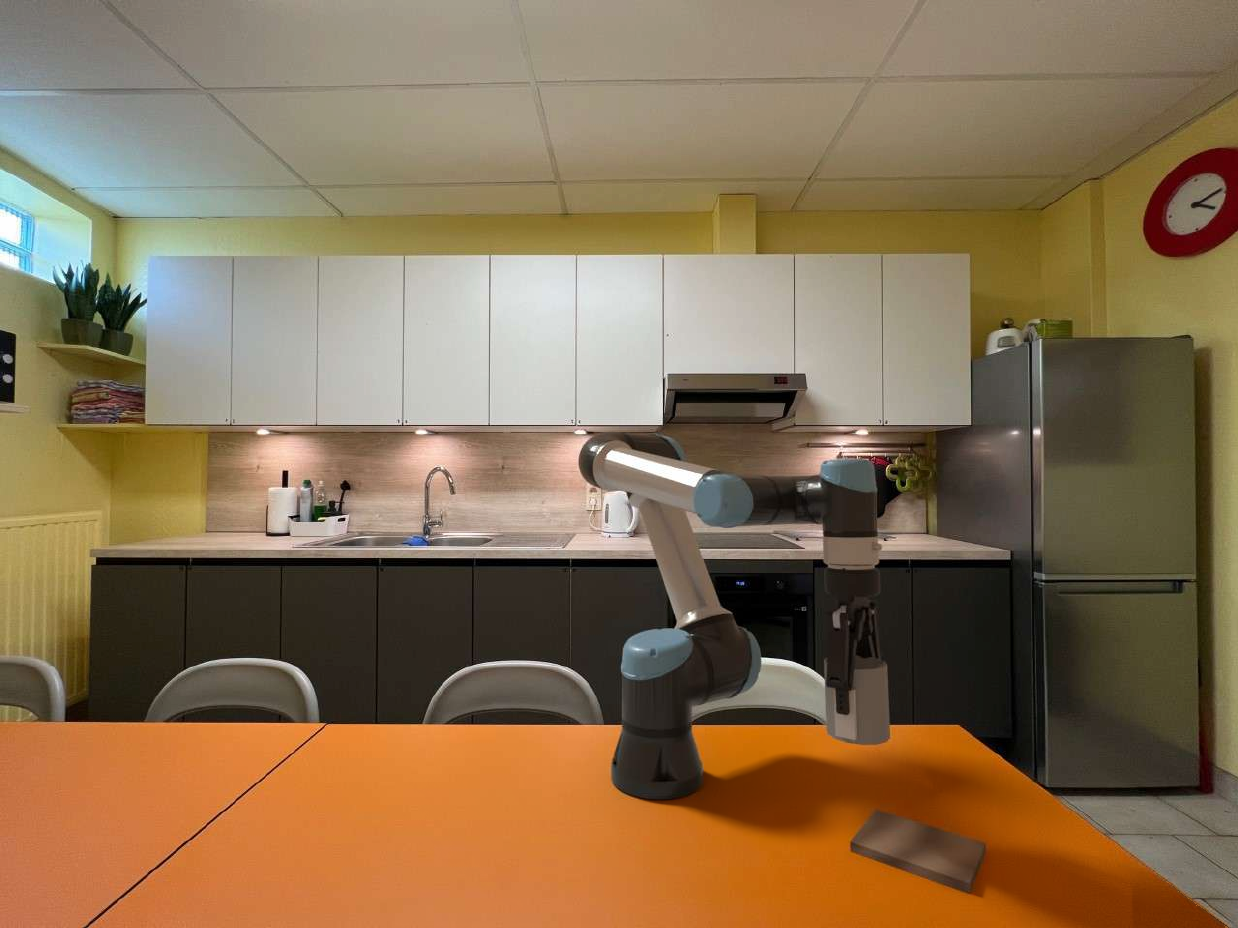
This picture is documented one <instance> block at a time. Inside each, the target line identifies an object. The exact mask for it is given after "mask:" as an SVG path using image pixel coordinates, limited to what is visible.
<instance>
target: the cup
mask: <svg viewBox="0 0 1238 928" xmlns="http://www.w3.org/2000/svg"><path fill="white" fill-rule="evenodd" d="M823 665H824V694H825V695H824V696H825V699H824V700H825V725H826V732H827V735H828V736H830V737H832V738H833V739H835V740H837V741H841V742H844V743H847V744H853V745H859V746H874V745H875V746H876V745H881V744H885V743H888V742H889V740H890V739H891V725H890V705H889V704H890V703H889V680H888V679H889V678H888V677H889V676H888V664H887V663H886V661H885V660H882V659H881V660H879V659H876V658H871V657H869V658H866V659H863V658H861V657H860V656H856V657H855V666H854V676H853V685H852V686H853V687H852V689H855V693H856V719H857V739H856V740H852V739H848V738H843V737H839V736H835V710H834V688H830V687H827V686H826V680H827V657H826V658H823ZM839 679H840V678H839Z"/></svg>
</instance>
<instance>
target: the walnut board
mask: <svg viewBox="0 0 1238 928" xmlns="http://www.w3.org/2000/svg"><path fill="white" fill-rule="evenodd" d="M849 847H850V848H849V849H850V850H849V851H850V852H853V853H854V854H857V855H860V856H863V857H866V858H868V859H872V860H875V861H877V862H880V863H883V864H886V865H887V866H888V865H889V866H891V867H894V868H897V869H900V870H903V871H905V872H907V873H911V874H913V875H915V876H916V875H917V876H919V877H922V878H924V879H927V880H930V881H933V882H936V883H939V884H941V885H944V886H947V887H950V888H952V889H955V890H959V891H960V892H964V893H966V894H971V891H972V889H973V886H974V884H975V882H976V878H977V876H978V874H979V870H980V868H981V866H982V864H983V861H984V857H985V855H986V852H987V851H986V850H987V849H986V848H987V847H986V842H984V841H980V840H977V839H974V838H970V837H968V836H964V835H961V834H958V833H955V832H952V831H948V830H944V829H941V828H938V827H935V826H932V825H928V824H926V823H922V822H919V821H915V820H913V819H909V818H906V817H903V816H900V815H896V814H893V813H890V812H886V811H884V810H880V809H874V810H873V811H872V813H871V815H869V817H868V818H867V819H866V821H865V822H864V823H863V824H862V825H861V827H860V828H859V830H858V831H857V832H856V833H855V835H854V836H853V837H852V839H851V840H850V845H849Z"/></svg>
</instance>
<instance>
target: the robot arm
mask: <svg viewBox="0 0 1238 928" xmlns="http://www.w3.org/2000/svg"><path fill="white" fill-rule="evenodd" d="M581 447H582V448H581V449H580V452H579V454H578V461H577V462H578V470H579V472H580V475H581V476H582V478H583V479H584V480H585V481H586V483H588V484H590V486H592V487H595V488H598V489H601V490H604V491H607V492H618V491H624V492H625V493H626V494H625V495H626V497H627V500H628V503H629V505H630V506H631V507H634V508H636V509H639V512H640V515H641V519H642V520H643V524H644V526H645V530H646V533H647V536H648V539H649V541H650V544H651V548H652V551H653V553H654V557H655V559H656V563H657V566H658V569H659V572H660V575H661V577H662V580H663V583H664V586H665V590H666V592H667V595H668V598H669V601H670V604H671V608H672V610H673V614H674V615H675V620H676V625H675V626H674V628H669V627H668V628H667V627H666V628H662V629H659V628H654V629H649V630H643V631H640V632H639V633H636V634H634V635H632V636H631V637H629V638H628V639H627V640H626V642H625V643H624V646H623V648H622V659H621V664H620V671H621V731H620V735H619V738H618V741H617V745H616V748H615V751H614V754H613V757H612V759H611V762H610V763H611V765H610V779H611V782H612V784H613V785H614V786H615V787H616V788H617V789H619V790H620V792H621V791H622V792H623V793H626V794H628V795H630V796H634V797H637V798H640V799H641V798H642V799H646V800H647V799H648V800H672V799H673V800H674V799H678V798H682V797H686V796H690V795H691V794H693V793H695V792H696V791H697V790H699V789H700V788H701V787H702V784H703V781H704V773H703V772H704V767H703V762H702V760H701V758H700V754H699V750H698V747H697V744H696V740H695V736H694V734H693V708H694V707H697V706H702V705H706V704H710V703H712V702H717V701H720V700H724V699H733V698H734V697H737V696H738V695H741V694H744V693H746V692H748V691H750V690H751V689H752V688H753V687H754V686H755V685H756V683H757V681H758V679H759V674H760V672H761V669H762V655H761V654H762V653H761V647H760V645H759V643H758V640H757V638H756V637H755V635H754V634H753V633H752V632H751V631H748V630H747V628H745V627H742V626H739V625H737V623H736V620H735V618H734V615H733V612H731V611H729V610H728V609H726V608H724V607H723V606H722V605H721V603H720V601H719V598H718V595H717V593H716V590H715V588H714V587H715V586H714V584H713V582H712V579H711V577H710V574H709V571H708V569H707V565H706V563H705V561H704V558H703V555H702V552H701V550H700V546H699V544H698V542H697V539H696V536H695V533H694V531H693V528H692V525H691V523H690V521H689V517H688V514H687V512H689V513H692V514H695V515H696V516H697V517H698V518H700V521H701V522H702V523H703V524H705V525H707V526H710V527H715V528H716V527H717V528H718V527H719V528H723V529H732V528H736V527H753V526H755V527H756V526H775V525H776V526H779V525H822V546H823V547H822V548H823V549H822V550H823V551H822V554H823V560H822V561H823V563H824V564H826V565H827V566H826V567H825V569H824V570H823V571H824V574H823V575H824V577H823V578H824V591H825V592H826V593H827V594H829V595H832V596H833V595H834V596H835V597H836V606H835V608H834V611H828V612H827V614H826V619H827V628H828V629H827V630H828V631H827V632H828V633H827V652H826V653H827V656H826V658H827V680H826V686H827V687H830V688H834V710H835V736H839V737H843V738H848V739H852V740H856V739H857V719H856V693H855V689H852V687H853V686H852V685H853V676H854V666H855V657H856V656H860V657H861V658H863V659H866V658H869V657H871V658H876V659H879V660H882V657H881V648H880V647H881V646H880V637H879V628H878V619H877V613H878V612H877V605H878V604H877V601H876V600H869V597H870V598H871V597H876V596H878V595H880V593H881V572H880V571H881V570H879V569H878V568H876V567H875V566H877V565H878V564H880V557H879V556H880V555H879V554H880V553H879V552H880V551H882V550H883V545H882V544H881V543H879V532H878V510H877V509H878V506H877V505H878V502H877V500H878V498H877V494H878V493H877V492H878V487H877V481H876V471H875V466H874V464H873V462H872V461H870V460H868V459H865V458H840V459H839V458H838V459H837V458H836V459H829V460H828V459H827V460H824V461H822V462H821V464H820V470H819V471H820V472H819V474H815V475H787V476H786V475H746V474H738V473H733V472H729V471H724V470H720V469H715V468H712V467H707V466H703V465H700V464H694V463H690V462H687V458H686V455H685V452H684V450H683V448H682V447H681V445H680V444H679V443H678V441H676V440H675V439H673V438H672V437H670V436H666V435H660V434H657V433H645V434H643V433H633V432H632V433H631V432H618V431H604V432H600V433H597V434H595V435H593V436H592V437H589V439H588V440H586V442H585V443H584V444H583V445H582V446H581ZM839 678H840V679H839Z"/></svg>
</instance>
